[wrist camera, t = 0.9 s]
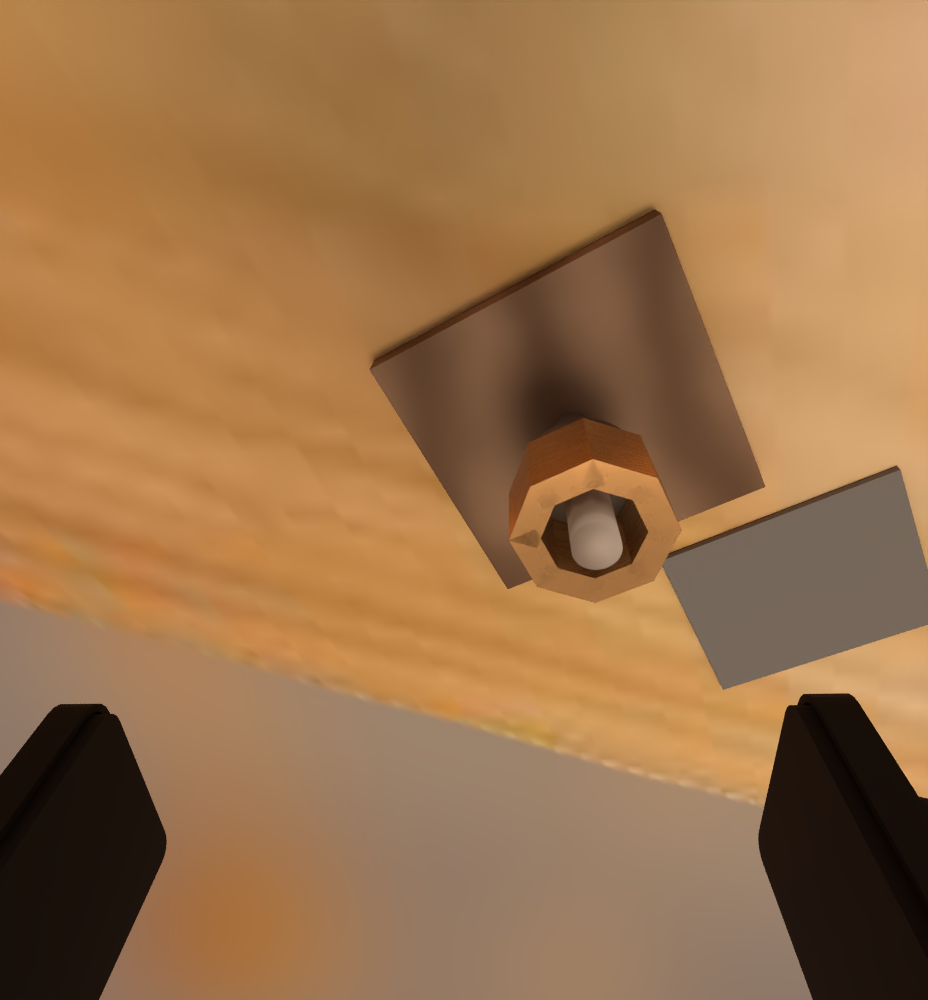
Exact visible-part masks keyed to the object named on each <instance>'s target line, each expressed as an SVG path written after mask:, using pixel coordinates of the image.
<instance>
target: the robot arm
mask: <svg viewBox="0 0 928 1000" xmlns="http://www.w3.org/2000/svg"><path fill="white" fill-rule="evenodd" d="M758 839H759V850H760V854H761V858H762V861H763V865H764V867H765V870H766V873H767V875H768V878H769V881H770V884H771V887H772V889H773V892H774V895H775V897H776V900H777V903H778V906H779V908H780V911H781V914H782V916H783V919H784V922H785V925H786V928H787V930H788V933H789V936H790V938H791V941H792V944H793V947H794V949H795V952H796V955H797V957H798V960H799V963H800V966H801V968H802V971H803V974H804V976H805V979H806V982H807V985H808V988H809V990H810V993H811V996H812V999H813V1000H928V799H927V798H922V797H918V795H917V793H916V792H915V790H914V789H913V787H912V786H911V784H910V782H909V781H908V779H907V778H906V776H905V775H904V773H903V771H902V770H901V768H900V767H899V765H898V764H897V762H896V761H895V759H894V757H893V756H892V754H891V753H890V751H889V750H888V748H887V746H886V745H885V743H884V742H883V740H882V739H881V737H880V735H879V734H878V732H877V731H876V729H875V728H874V726H873V724H872V723H871V721H870V720H869V718H868V717H867V715H866V714H865V712H864V710H863V709H862V707H861V706H860V704H859V703H858V701H857V700H856V699H855V698H854V697H853V696H852V695H850V694H849V693H848V694H803V695H802V696H801V697H800V699H799V702H798V705H789V706H788V707H787V709H786V712H785V716H784V721H783V725H782V730H781V734H780V739H779V743H778V748H777V752H776V757H775V761H774V766H773V770H772V775H771V779H770V784H769V788H768V793H767V797H766V802H765V806H764V811H763V815H762V820H761V825H760V829H759V838H758ZM165 851H166V834H165V831H164V828H163V826H162V823H161V821H160V818H159V816H158V813H157V811H156V809H155V806H154V804H153V801H152V799H151V796H150V794H149V791H148V789H147V787H146V784H145V781H144V779H143V777H142V774H141V772H140V769H139V767H138V764H137V762H136V759H135V757H134V755H133V752H132V750H131V747H130V745H129V742H128V740H127V737H126V735H125V732H124V730H123V728H122V725H121V723H120V721H119V719H118V717H117V716H116V715H114V714H110V712H109V711H108V709H107V708H106V706H104V705H102V704H60V705H58V706H56V707H54V708H53V709H52V710H51V711H50V713H48V714H47V716H46V717H45V718H44V720H43V721H42V722H41V723H40V725H39V726H38V727H37V729H36V730H35V731H34V733H33V734H32V735H31V736H30V738H29V739H28V740H27V742H26V743H25V744H24V746H23V747H22V748H21V749H20V751H19V752H18V753H17V754H16V756H15V757H14V758H13V760H12V761H11V762H10V764H9V765H8V766H7V768H6V769H5V770H4V771H3V773H2V774H1V775H0V1000H99V998H100V996H101V994H102V992H103V990H104V987H105V985H106V983H107V981H108V979H109V977H110V974H111V972H112V970H113V968H114V966H115V963H116V961H117V959H118V957H119V955H120V953H121V950H122V948H123V946H124V944H125V942H126V939H127V937H128V935H129V933H130V931H131V929H132V926H133V924H134V922H135V920H136V918H137V915H138V913H139V911H140V909H141V907H142V905H143V902H144V900H145V898H146V896H147V894H148V892H149V889H150V887H151V885H152V883H153V880H154V879H155V876H156V874H157V872H158V870H159V868H160V865H161V863H162V860H163V858H164V855H165Z"/></svg>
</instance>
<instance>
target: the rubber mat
mask: <svg viewBox="0 0 928 1000" xmlns="http://www.w3.org/2000/svg"><path fill="white" fill-rule="evenodd" d="M662 566H663V568H664V570H665V572H666V574H667V576H668V578H669V580H670V582H671V584H672V586H673V588H674V590H675V592H676V594H677V596H678V598H679V600H680V603H681V605H682V607H683V609H684V611H685V613H686V615H687V617H688V619H689V621H690V623H691V625H692V627H693V629H694V631H695V633H696V635H697V637H698V639H699V641H700V643H701V645H702V647H703V649H704V652H705V654H706V656H707V658H708V660H709V662H710V664H711V666H712V668H713V670H714V672H715V674H716V676H717V678H718V680H719V682H720V684H721V686H722V688H723V690H724V689H727V688H730V687H733V686H736V685H740V684H743V683H746V682H749V681H752V680H755V679H758V678H762V677H765V676H768V675H771V674H774V673H777V672H780V671H784V670H787V669H790V668H793V667H796V666H799V665H802V664H806V663H809V662H812V661H815V660H818V659H821V658H824V657H827V656H831V655H834V654H837V653H840V652H843V651H846V650H849V649H853V648H856V647H859V646H862V645H865V644H868V643H871V642H875V641H878V640H881V639H884V638H887V637H890V636H893V635H897V634H900V633H903V632H906V631H909V630H912V629H915V628H919V627H922V626H925V625H928V570H927V566H926V562H925V558H924V555H923V551H922V547H921V544H920V540H919V536H918V533H917V529H916V525H915V522H914V518H913V514H912V511H911V507H910V503H909V500H908V496H907V492H906V489H905V485H904V481H903V477H902V474H901V470H900V469H899V468H898V467H897V466H896V467H894V468H891V469H889V470H886V471H883V472H881V473H878V474H876V475H873V476H870V477H868V478H865V479H863V480H860V481H857V482H855V483H852V484H850V485H847V486H844V487H842V488H839V489H837V490H834V491H831V492H829V493H826V494H824V495H821V496H818V497H816V498H813V499H811V500H808V501H805V502H803V503H800V504H798V505H795V506H792V507H790V508H787V509H785V510H782V511H779V512H777V513H774V514H772V515H769V516H766V517H764V518H761V519H759V520H756V521H753V522H751V523H748V524H746V525H743V526H740V527H738V528H735V529H733V530H730V531H727V532H725V533H722V534H720V535H717V536H714V537H712V538H709V539H707V540H704V541H701V542H699V543H696V544H694V545H691V546H688V547H686V548H683V549H681V550H678V551H675V552H673V553H670V554H668V556H667V558H666V560H665V561H664V563H663V565H662Z"/></svg>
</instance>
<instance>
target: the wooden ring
mask: <svg viewBox="0 0 928 1000" xmlns="http://www.w3.org/2000/svg"><path fill="white" fill-rule="evenodd" d="M592 489H596V490H599V491H603V492H606V493H609V494H613V495H616V496H620V497H623V498H626V500H625V502H624V504H623V506H622V508H621V510H620V512H619V514H618V515H616V516H615V518H616V521H617V525H618V529H619V533H620V537H621V541H622V545H623V550H622V554H621V556H620V558H619V559H618V561H617V562H615V563H614V564H613V565H611V566H610V567H607V568H605V569H600V570H591V569H587V568H584V567H582V566H580V565H579V564H578V563H577V562H576V561H575V560H574V558H573V556H572V552H571V545H570V538H569V531H568V524H567V522H563V521H559V520H556V519H552V517H551V513H552V510H553V508H554V506H555V505H557V504H559V503H561V502H564V501H566V500H568V499H571V498H573V497H575V496H578V495H580V494H582V493H585V492H587V491H589V490H592ZM680 532H681V527H680V525H679V522H678V520H677V518H676V515H675V513H674V510H673V508H672V505H671V503H670V501H669V498H668V496H667V493H666V491H665V488H664V486H663V483H662V481H661V479H660V477H659V475H658V473H657V470H656V468H655V466H654V464H653V462H652V460H651V457H650V455H649V453H648V451H647V449H646V446H645V444H644V442H643V440H642V438H641V435H638V434H635V433H632V432H628V431H625V430H622V429H618V428H615V427H612V426H608V425H605V424H602V423H598V422H595V421H592V420H588V419H585V418H582V419H579V420H577V421H575V422H573V423H571V424H569V425H566V426H564V427H562V428H560V429H558V430H556V431H553V432H551V433H549V434H547V435H545V436H543V437H540V438H538V439H536V440H534V441H532V442H530V443H528V444H527V446H526V449H525V452H524V454H523V457H522V460H521V462H520V465H519V468H518V470H517V473H516V476H515V478H514V481H513V484H512V486H511V489H510V492H509V541H510V543H511V545H512V546H513V548H514V550H515V551H516V553H517V555H518V556H519V558H520V559H521V561H522V563H523V564H524V566H525V568H526V569H527V571H528V573H529V574H530V576H531V578H532V579H533V581H534V583H535V584H536V586H537V587H539V588H543V589H547V590H550V591H554V592H558V593H561V594H565V595H569V596H572V597H576V598H580V599H583V600H587V601H591V602H594V603H596V602H599V601H601V600H604V599H607V598H609V597H612V596H615V595H617V594H620V593H623V592H625V591H628V590H631V589H633V588H636V587H639V586H641V585H644V584H647V583H649V582H652V581H654V580H655V578H656V576H657V574H658V572H659V571H660V569H661V567H662V565H663V563H664V561H665V560H666V558H667V556H668V554H669V552H670V550H671V549H672V547H673V545H674V543H675V541H676V539H677V538H678V536H679V534H680Z"/></svg>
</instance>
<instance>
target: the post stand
mask: <svg viewBox="0 0 928 1000" xmlns="http://www.w3.org/2000/svg"><path fill="white" fill-rule="evenodd" d="M370 371H371V373H372V374H373V376H374V377H375V379H376V381H377V382H378V384H379V385H380V387H381V389H382V390H383V392H384V393H385V395H386V396H387V398H388V400H389V401H390V403H391V404H392V406H393V408H394V409H395V411H396V412H397V414H398V416H399V417H400V419H401V420H402V422H403V423H404V425H405V427H406V428H407V430H408V431H409V433H410V435H411V436H412V438H413V439H414V441H415V443H416V444H417V446H418V447H419V449H420V450H421V452H422V454H423V455H424V457H425V458H426V460H427V462H428V463H429V465H430V466H431V468H432V470H433V471H434V473H435V474H436V476H437V477H438V479H439V481H440V482H441V484H442V485H443V487H444V489H445V490H446V492H447V493H448V495H449V496H450V498H451V500H452V501H453V503H454V504H455V506H456V508H457V509H458V511H459V512H460V514H461V516H462V517H463V519H464V520H465V522H466V523H467V525H468V527H469V528H470V530H471V531H472V533H473V535H474V536H475V538H476V539H477V541H478V543H479V544H480V546H481V547H482V549H483V550H484V552H485V554H486V555H487V557H488V558H489V560H490V562H491V563H492V565H493V566H494V568H495V570H496V571H497V573H498V574H499V576H500V577H501V579H502V581H503V582H504V584H505V585H506V587H507V589H509V588H512V587H515V586H517V585H520V584H522V583H525V582H527V581H530V580H532V578H531V576H530V574H529V573H528V571H527V569H526V568H525V566H524V564H523V563H522V561H521V559H520V558H519V556H518V555H517V553H516V551H515V550H514V548H513V546H512V545H511V543H510V541H509V492H510V489H511V486H512V484H513V481H514V478H515V476H516V473H517V470H518V468H519V465H520V462H521V460H522V457H523V454H524V452H525V449H526V446H527V444H528V443H530V442H532V441H534V440H536V439H538V438H540V437H543V436H545V435H547V434H549V433H551V432H553V431H556V430H558V429H560V428H562V427H564V426H566V425H569V424H571V423H573V422H575V421H577V420H579V419H582V418H585V419H588V420H592V421H595V422H598V423H602V424H605V425H608V426H612V427H615V428H618V429H622V430H625V431H628V432H632V433H635V434H638V435H641V438H642V440H643V442H644V444H645V446H646V449H647V451H648V453H649V455H650V457H651V460H652V462H653V464H654V466H655V468H656V470H657V473H658V475H659V477H660V479H661V481H662V483H663V486H664V488H665V491H666V493H667V496H668V498H669V501H670V503H671V505H672V508H673V510H674V513H675V515H676V518H677V520H678V521H681V520H683V519H686V518H688V517H691V516H693V515H696V514H698V513H701V512H703V511H706V510H708V509H711V508H713V507H716V506H718V505H721V504H723V503H726V502H729V501H731V500H734V499H736V498H739V497H741V496H744V495H746V494H749V493H751V492H754V491H756V490H759V489H761V488H764V487H765V485H764V482H763V479H762V477H761V474H760V471H759V469H758V466H757V464H756V461H755V458H754V456H753V453H752V450H751V448H750V445H749V443H748V440H747V437H746V435H745V432H744V429H743V427H742V424H741V421H740V419H739V416H738V414H737V411H736V408H735V406H734V403H733V400H732V398H731V395H730V393H729V390H728V387H727V385H726V382H725V379H724V377H723V374H722V371H721V369H720V366H719V364H718V361H717V358H716V356H715V353H714V350H713V348H712V345H711V343H710V340H709V337H708V335H707V332H706V329H705V327H704V324H703V321H702V319H701V316H700V314H699V311H698V308H697V306H696V303H695V300H694V298H693V295H692V293H691V290H690V287H689V285H688V282H687V279H686V277H685V274H684V271H683V269H682V266H681V264H680V261H679V258H678V256H677V253H676V250H675V248H674V245H673V243H672V240H671V237H670V235H669V232H668V229H667V227H666V224H665V222H664V219H663V216H662V214H661V213H660V212H658V211H657V210H654V211H652V212H650V213H648V214H646V215H645V216H643V217H641V218H639V219H637V220H635V221H633V222H631V223H630V224H628V225H626V226H624V227H622V228H620V229H618V230H617V231H615V232H613V233H611V234H609V235H607V236H605V237H604V238H602V239H600V240H598V241H596V242H594V243H592V244H590V245H589V246H587V247H585V248H583V249H581V250H579V251H577V252H576V253H574V254H572V255H570V256H568V257H566V258H564V259H563V260H561V261H559V262H557V263H555V264H553V265H551V266H550V267H548V268H546V269H544V270H542V271H540V272H538V273H536V274H535V275H533V276H531V277H529V278H527V279H525V280H523V281H522V282H520V283H518V284H516V285H514V286H512V287H510V288H509V289H507V290H505V291H503V292H501V293H499V294H497V295H496V296H494V297H492V298H490V299H488V300H486V301H484V302H482V303H481V304H479V305H477V306H475V307H473V308H471V309H469V310H468V311H466V312H464V313H462V314H460V315H458V316H456V317H455V318H453V319H451V320H449V321H447V322H445V323H443V324H441V325H440V326H438V327H436V328H434V329H432V330H430V331H428V332H427V333H425V334H423V335H421V336H419V337H417V338H415V339H414V340H412V341H410V342H408V343H406V344H404V345H402V346H401V347H399V348H397V349H395V350H393V351H391V352H389V353H387V354H386V355H384V356H382V357H380V358H378V359H376V360H374V362H373V364H372V366H371V368H370ZM625 500H626V498H623V497H620V496H616V495H613V494H609V493H606V492H603V491H599V490H596V489H592V490H589V491H587V492H585V493H582V494H580V495H578V496H575V497H573V498H571V499H568V500H566V501H564V502H561V503H559V504H557V505H555V506H554V508H553V510H552V513H551V517H552V519H556V520H559V521H563V522H567V524H568V531H569V538H570V545H571V552H572V556H573V558H574V560H575V561H576V562H577V563H578V564H579V565H580V566H582V567H584V568H587V569H591V570H600V569H605V568H607V567H610V566H611V565H613V564H614V563H615V562H617V561H618V559H619V558H620V556H621V554H622V550H623V545H622V541H621V537H620V533H619V529H618V525H617V521H616V518H615V516H616V515H618V514H619V512H620V510H621V508H622V506H623V504H624V502H625Z"/></svg>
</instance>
